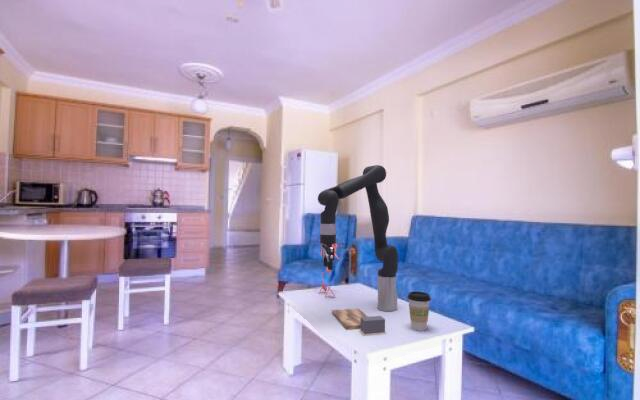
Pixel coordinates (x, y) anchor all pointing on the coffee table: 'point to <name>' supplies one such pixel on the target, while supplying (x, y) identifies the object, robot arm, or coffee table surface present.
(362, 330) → the sanding block
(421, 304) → the coffee cup
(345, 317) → the oak board
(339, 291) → the coffee table surface
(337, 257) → the figurine
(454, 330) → the coffee table surface
